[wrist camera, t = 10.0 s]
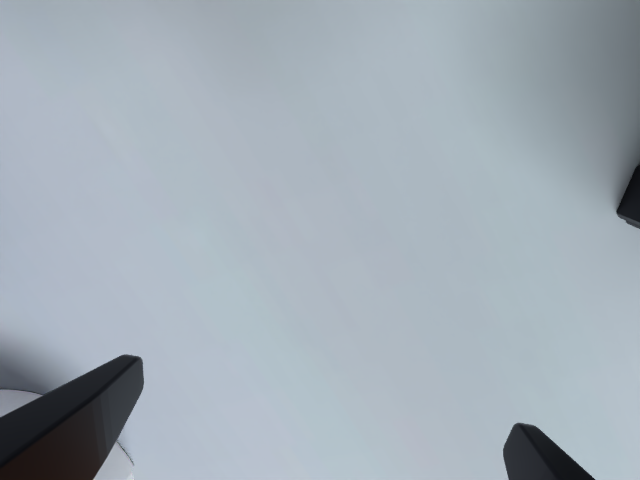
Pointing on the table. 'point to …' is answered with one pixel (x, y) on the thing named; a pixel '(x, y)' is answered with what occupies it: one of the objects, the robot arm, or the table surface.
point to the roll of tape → (117, 466)
